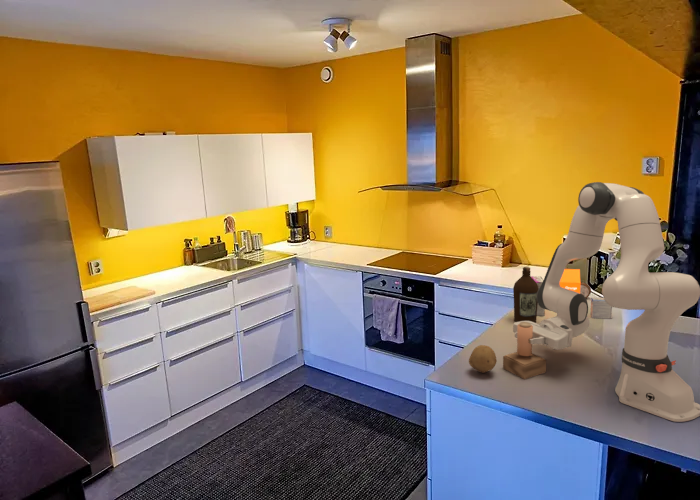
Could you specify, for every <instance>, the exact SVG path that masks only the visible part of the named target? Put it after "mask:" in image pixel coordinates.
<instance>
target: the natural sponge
mask: <svg viewBox="0 0 700 500" xmlns="http://www.w3.org/2000/svg"><path fill="white" fill-rule="evenodd" d="M468 363H469V366H470V367H471V368H473V369H475V370H476V371H478V372H479V373H482V374H485V373H487V372H489V371H491V370H493V369H494V368H495V366H496V365H497V355H496V353H495V351H494V350H493V349H492V347H490V346H488V345H484V344H479V345H478V346H476V347H475V348H474V349H473V350H472V351H471V353H470V356H469V359H468Z"/></svg>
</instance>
